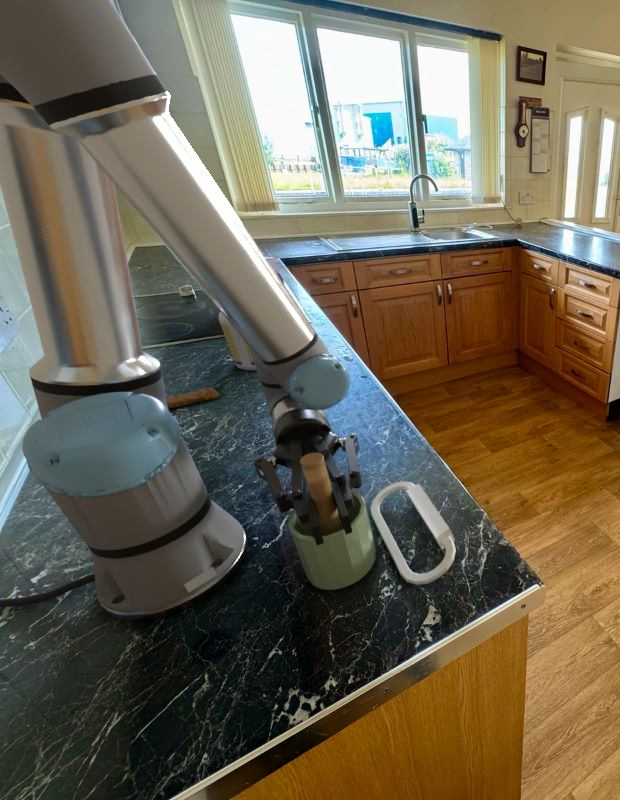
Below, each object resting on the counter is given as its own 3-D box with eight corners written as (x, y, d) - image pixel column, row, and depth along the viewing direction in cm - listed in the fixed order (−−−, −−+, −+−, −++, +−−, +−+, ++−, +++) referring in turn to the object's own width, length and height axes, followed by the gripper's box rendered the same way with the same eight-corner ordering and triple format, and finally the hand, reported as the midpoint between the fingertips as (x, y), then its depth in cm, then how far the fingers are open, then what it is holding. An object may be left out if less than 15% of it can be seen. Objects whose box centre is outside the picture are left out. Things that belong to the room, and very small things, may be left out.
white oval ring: (369, 508, 68) (359, 493, 65) (415, 481, 71) (407, 465, 68) (416, 603, 54) (405, 588, 51) (471, 564, 57) (463, 548, 54)
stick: (331, 565, 55) (301, 467, 47) (327, 552, 57) (298, 456, 49) (350, 557, 56) (324, 460, 48) (346, 545, 58) (321, 449, 50)
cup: (312, 601, 52) (293, 551, 48) (302, 553, 58) (285, 504, 54) (383, 570, 56) (372, 521, 52) (366, 528, 62) (355, 481, 58)
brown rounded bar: (212, 389, 97) (206, 375, 95) (222, 396, 94) (216, 382, 92) (101, 425, 84) (92, 410, 82) (109, 435, 81) (100, 419, 79)
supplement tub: (298, 352, 116) (281, 291, 107) (275, 372, 105) (255, 305, 97) (252, 352, 115) (231, 290, 107) (225, 371, 105) (200, 305, 96)
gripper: (359, 435, 70) (404, 527, 53) (250, 465, 63) (263, 583, 46) (350, 396, 67) (396, 481, 50) (234, 422, 59) (241, 533, 42)
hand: (332, 530), depth 48 cm, fingers closed on stick, 2 cm apart
